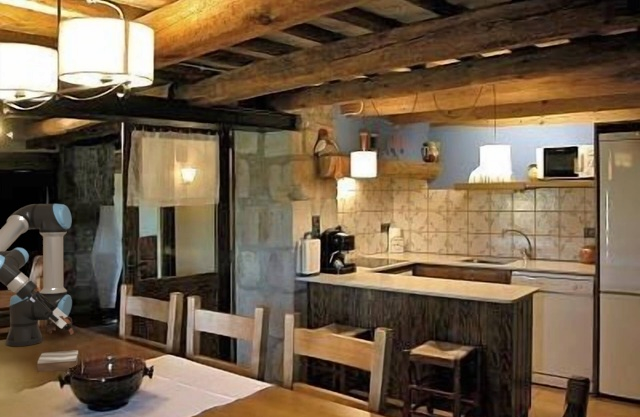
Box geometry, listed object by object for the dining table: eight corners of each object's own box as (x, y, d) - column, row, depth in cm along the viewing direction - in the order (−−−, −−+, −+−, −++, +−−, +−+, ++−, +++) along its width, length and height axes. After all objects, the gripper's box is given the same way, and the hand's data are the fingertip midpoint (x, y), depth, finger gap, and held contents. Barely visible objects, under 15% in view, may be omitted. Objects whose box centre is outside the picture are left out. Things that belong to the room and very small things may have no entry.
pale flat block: (42, 362, 251) (42, 352, 251) (78, 359, 255) (78, 350, 255) (37, 372, 237) (37, 361, 237) (76, 368, 242) (76, 358, 242)
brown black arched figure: (70, 338, 241) (58, 321, 239) (51, 347, 242) (39, 330, 240) (83, 324, 252) (72, 307, 250) (64, 333, 254) (53, 317, 252)
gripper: (19, 289, 252) (61, 324, 257) (10, 298, 230) (55, 336, 235) (33, 276, 253) (74, 311, 258) (25, 283, 231) (70, 321, 236)
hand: (65, 323), depth 247 cm, fingers closed on brown black arched figure, 11 cm apart
